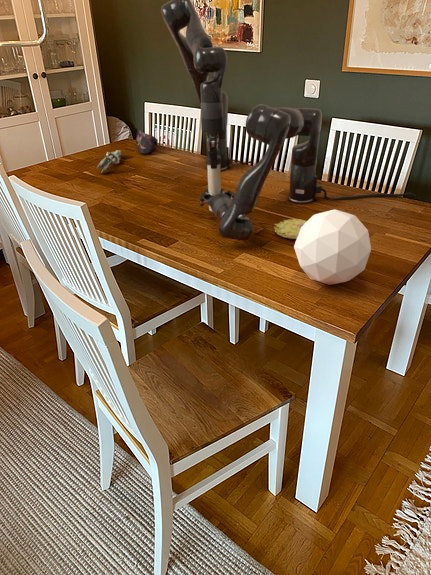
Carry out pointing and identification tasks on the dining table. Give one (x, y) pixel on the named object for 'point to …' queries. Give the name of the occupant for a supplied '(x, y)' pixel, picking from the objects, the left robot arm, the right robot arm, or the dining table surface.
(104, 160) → the figurine
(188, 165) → the dining table surface
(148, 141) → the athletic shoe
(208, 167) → the bottle
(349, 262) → the sphere
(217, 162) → the lid
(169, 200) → the dining table surface
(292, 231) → the decorative object
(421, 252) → the dining table surface
